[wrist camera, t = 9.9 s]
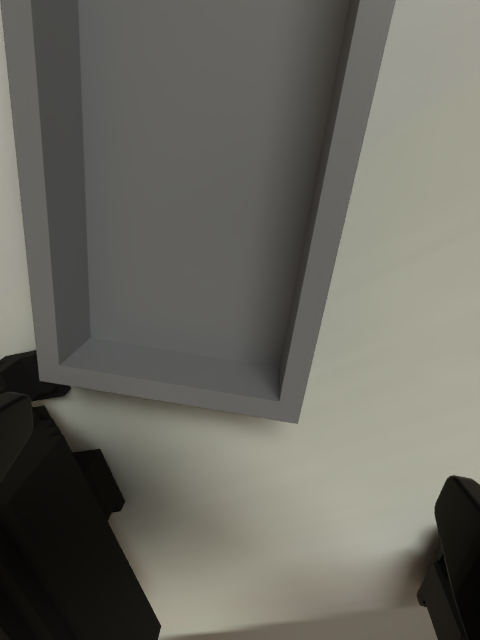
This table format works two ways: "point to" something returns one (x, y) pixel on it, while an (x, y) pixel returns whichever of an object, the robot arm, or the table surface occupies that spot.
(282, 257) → the gray open-top storage bin
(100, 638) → the black stepped block
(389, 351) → the table surface
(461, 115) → the table surface
